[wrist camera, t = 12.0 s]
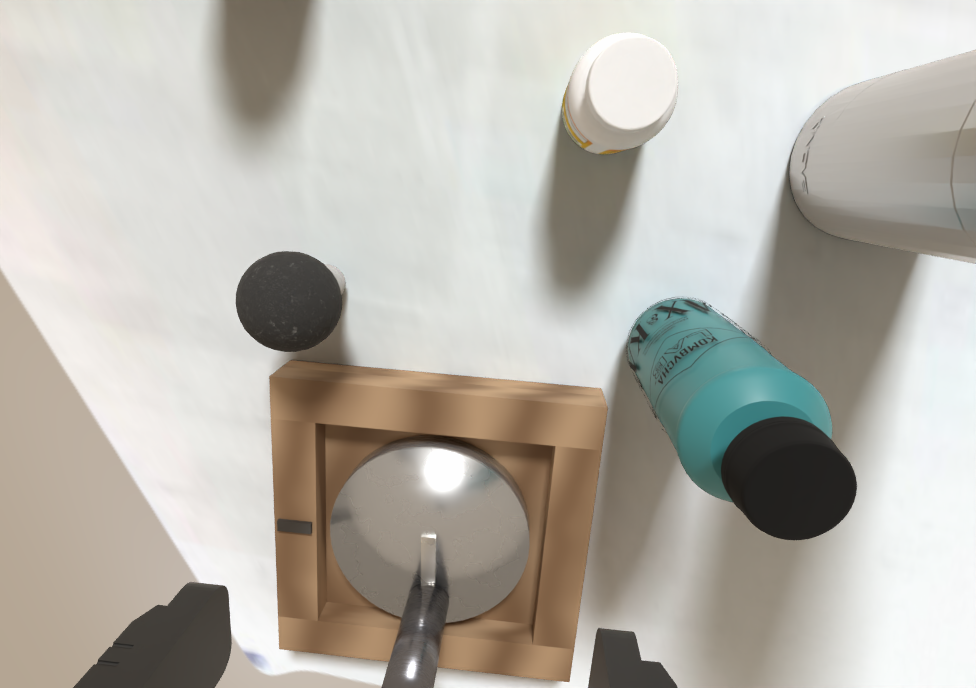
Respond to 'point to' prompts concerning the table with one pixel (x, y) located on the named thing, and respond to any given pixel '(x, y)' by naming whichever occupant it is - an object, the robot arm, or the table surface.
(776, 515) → the beverage bottle
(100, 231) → the table surface
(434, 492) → the dial
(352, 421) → the brown flat square frame
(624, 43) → the supplement bottle
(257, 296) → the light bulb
